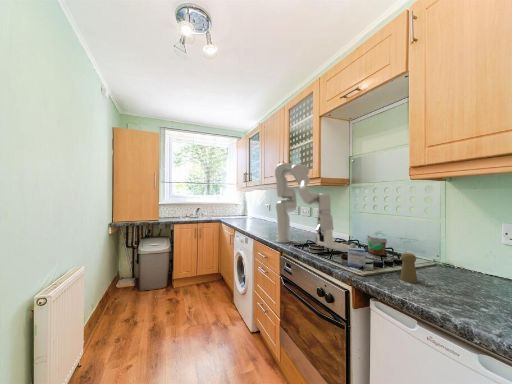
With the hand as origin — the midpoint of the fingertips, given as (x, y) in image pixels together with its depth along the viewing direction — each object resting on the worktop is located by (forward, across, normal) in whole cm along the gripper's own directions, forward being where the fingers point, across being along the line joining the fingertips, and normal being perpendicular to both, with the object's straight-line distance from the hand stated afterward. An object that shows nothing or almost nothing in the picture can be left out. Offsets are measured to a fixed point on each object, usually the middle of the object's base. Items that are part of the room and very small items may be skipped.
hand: (325, 240), depth 143 cm
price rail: (+6, +8, 0) cm, 11 cm away
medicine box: (+7, -10, -30) cm, 32 cm away
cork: (+7, -8, -53) cm, 54 cm away
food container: (+7, +19, -21) cm, 29 cm away
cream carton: (+2, 0, 0) cm, 2 cm away
